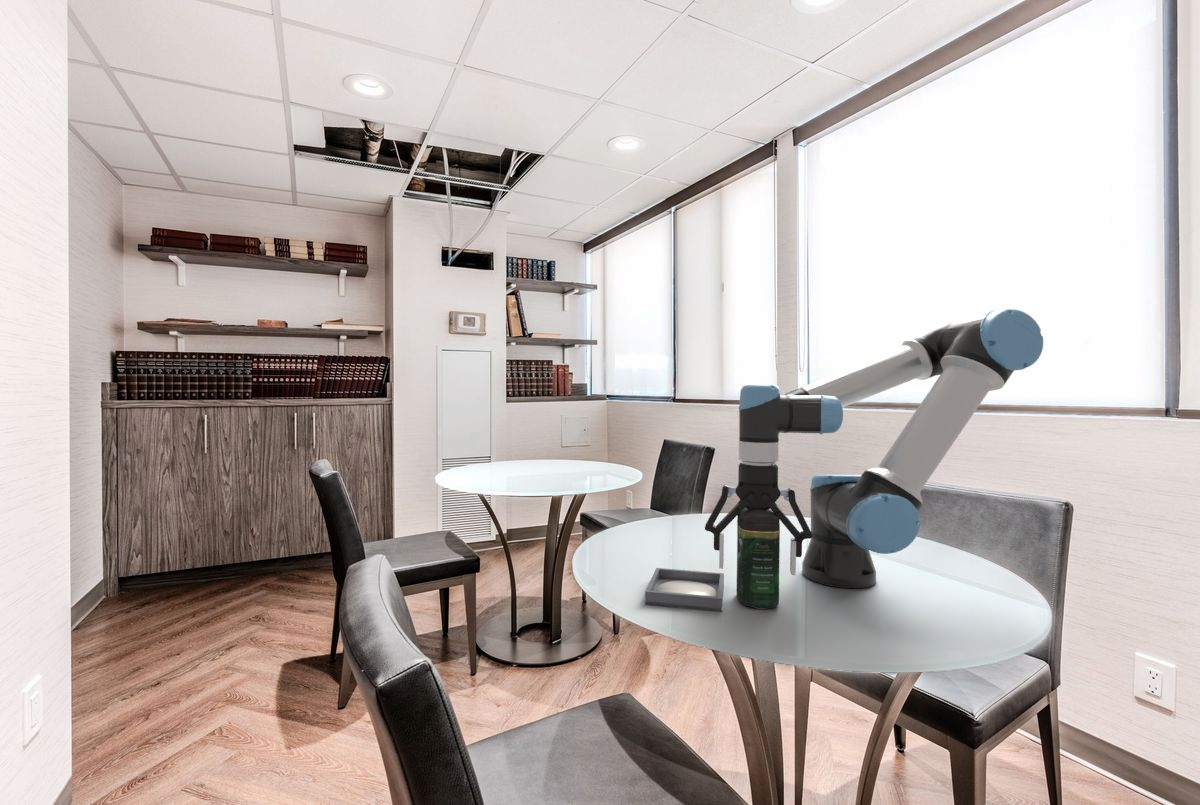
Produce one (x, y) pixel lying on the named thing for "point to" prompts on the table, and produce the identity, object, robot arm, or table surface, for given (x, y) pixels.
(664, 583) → the cradle tray
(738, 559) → the coffee jar
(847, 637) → the table surface
